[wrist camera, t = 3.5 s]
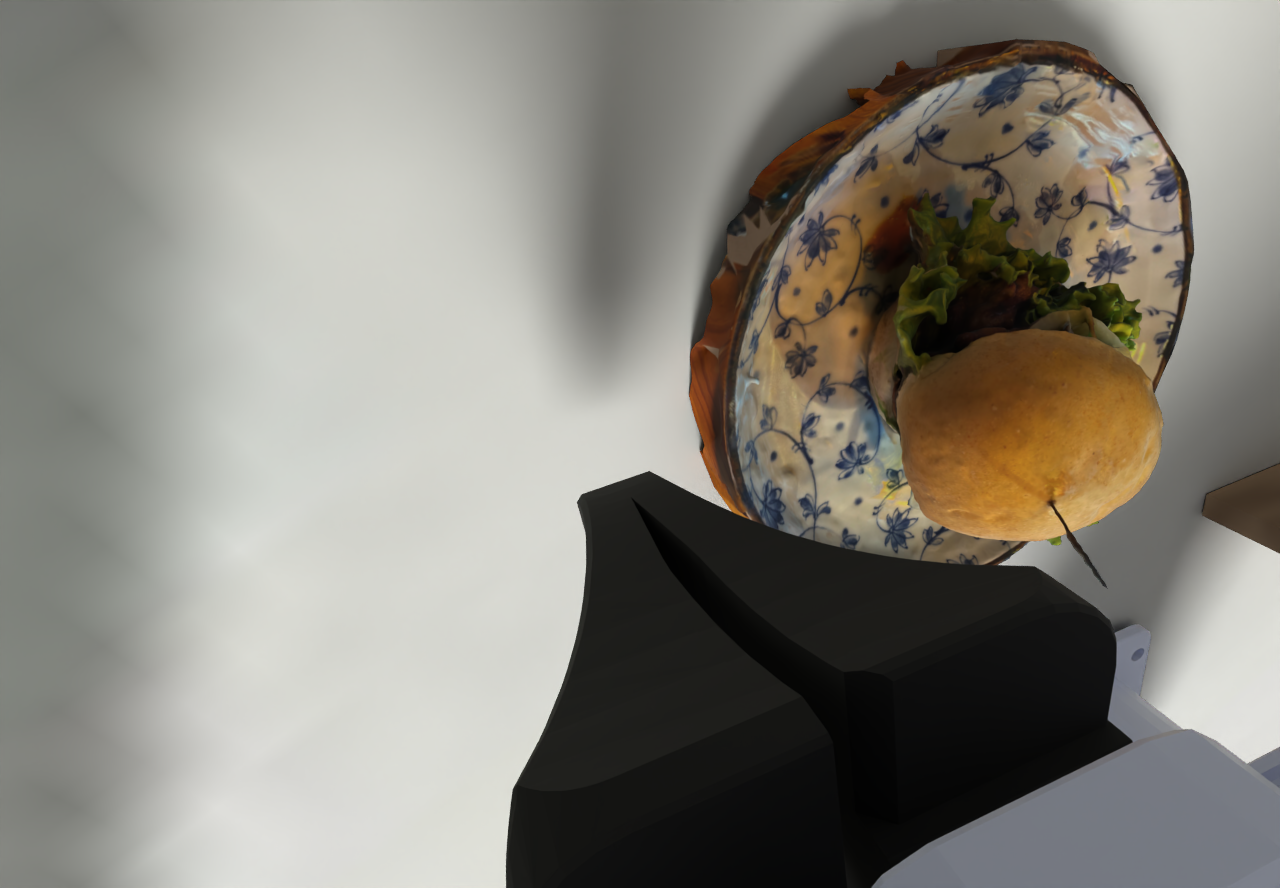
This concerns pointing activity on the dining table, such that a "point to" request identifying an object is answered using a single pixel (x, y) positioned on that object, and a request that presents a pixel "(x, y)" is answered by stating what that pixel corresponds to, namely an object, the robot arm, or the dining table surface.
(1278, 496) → the box
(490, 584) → the dining table surface
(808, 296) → the burger
